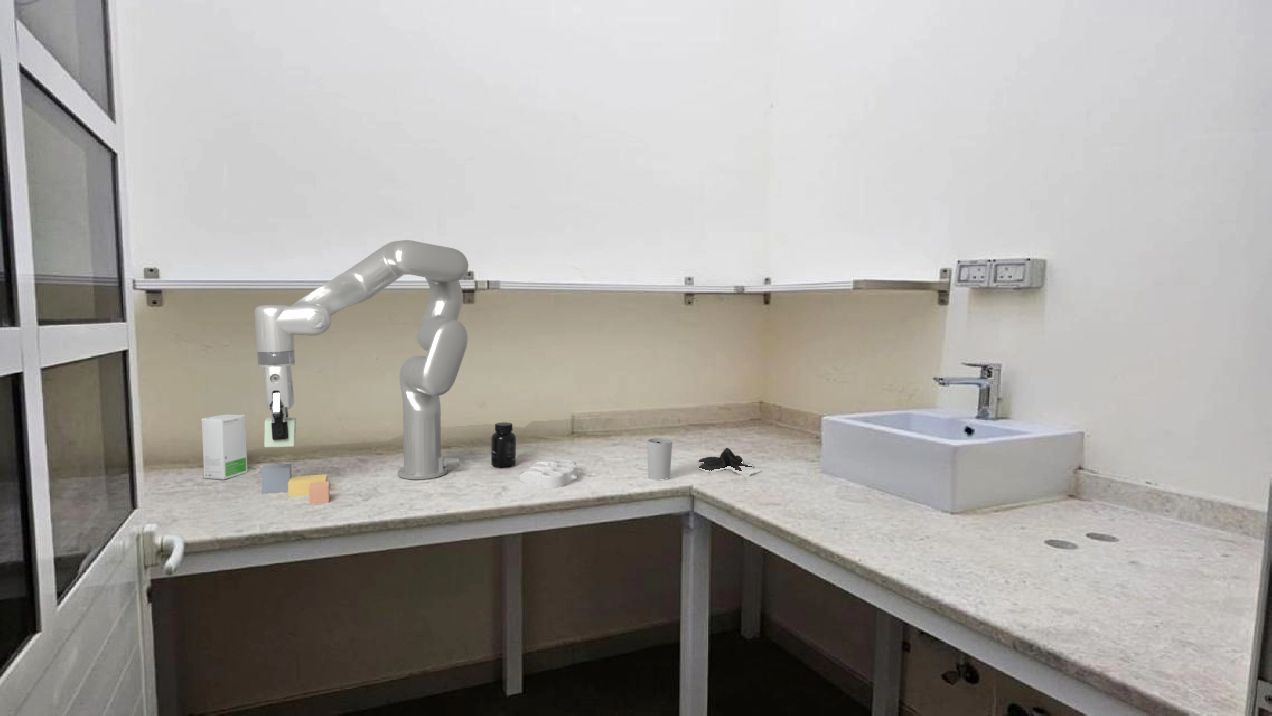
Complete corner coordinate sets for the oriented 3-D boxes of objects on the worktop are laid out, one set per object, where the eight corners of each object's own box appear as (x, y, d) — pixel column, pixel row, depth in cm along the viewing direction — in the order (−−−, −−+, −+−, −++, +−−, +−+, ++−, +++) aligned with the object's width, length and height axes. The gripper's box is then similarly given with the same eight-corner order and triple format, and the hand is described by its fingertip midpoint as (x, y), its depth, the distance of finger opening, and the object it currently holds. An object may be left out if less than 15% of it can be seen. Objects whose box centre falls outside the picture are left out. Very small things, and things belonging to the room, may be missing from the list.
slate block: (292, 487, 166) (291, 463, 165) (290, 492, 162) (289, 467, 162) (264, 489, 164) (263, 465, 163) (262, 494, 160) (261, 469, 159)
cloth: (766, 479, 183) (766, 457, 182) (697, 477, 184) (698, 455, 183) (756, 459, 205) (756, 439, 204) (695, 457, 206) (695, 437, 205)
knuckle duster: (536, 469, 188) (587, 472, 186) (515, 487, 170) (572, 490, 168) (536, 457, 188) (587, 460, 186) (515, 474, 170) (572, 477, 168)
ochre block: (327, 487, 167) (327, 474, 167) (325, 494, 161) (325, 480, 161) (291, 490, 164) (291, 476, 164) (288, 497, 159) (288, 483, 158)
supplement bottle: (486, 467, 188) (486, 424, 187) (500, 461, 195) (500, 420, 193) (507, 469, 186) (507, 427, 185) (520, 464, 192) (520, 422, 191)
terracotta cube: (329, 498, 158) (329, 481, 158) (328, 503, 154) (328, 486, 154) (310, 499, 157) (310, 482, 156) (309, 504, 153) (308, 487, 153)
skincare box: (223, 480, 171) (221, 419, 169) (201, 478, 172) (199, 418, 170) (249, 472, 179) (246, 414, 177) (227, 470, 180) (225, 413, 179)
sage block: (295, 442, 159) (295, 417, 159) (293, 446, 156) (294, 420, 155) (266, 443, 157) (267, 417, 157) (264, 447, 153) (264, 421, 153)
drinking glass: (641, 477, 181) (642, 440, 180) (657, 472, 185) (658, 437, 185) (660, 482, 176) (661, 444, 175) (676, 477, 181) (677, 440, 180)
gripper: (291, 362, 148) (296, 443, 150) (297, 354, 163) (302, 428, 166) (252, 363, 145) (258, 446, 147) (262, 356, 161) (267, 431, 163)
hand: (281, 436), depth 156 cm, fingers closed on sage block, 4 cm apart
